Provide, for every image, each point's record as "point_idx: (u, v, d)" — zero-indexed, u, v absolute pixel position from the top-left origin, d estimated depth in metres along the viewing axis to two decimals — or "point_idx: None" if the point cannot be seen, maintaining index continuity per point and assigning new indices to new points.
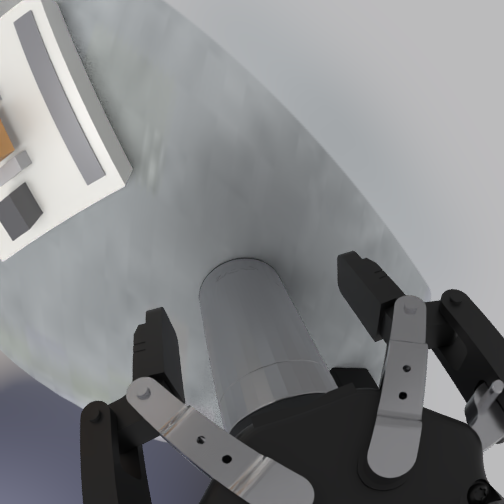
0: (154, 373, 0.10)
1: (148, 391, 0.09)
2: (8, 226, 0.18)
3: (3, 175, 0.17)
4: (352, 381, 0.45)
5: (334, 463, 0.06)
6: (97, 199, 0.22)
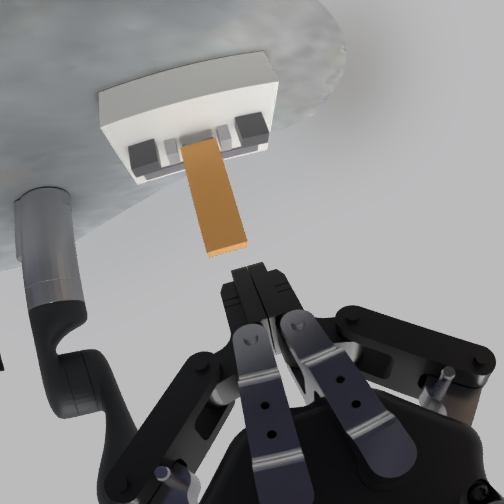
0: (257, 320, 0.11)
1: (255, 339, 0.10)
2: (142, 168, 0.31)
3: (172, 157, 0.33)
4: None
5: (334, 463, 0.06)
6: (133, 176, 0.38)
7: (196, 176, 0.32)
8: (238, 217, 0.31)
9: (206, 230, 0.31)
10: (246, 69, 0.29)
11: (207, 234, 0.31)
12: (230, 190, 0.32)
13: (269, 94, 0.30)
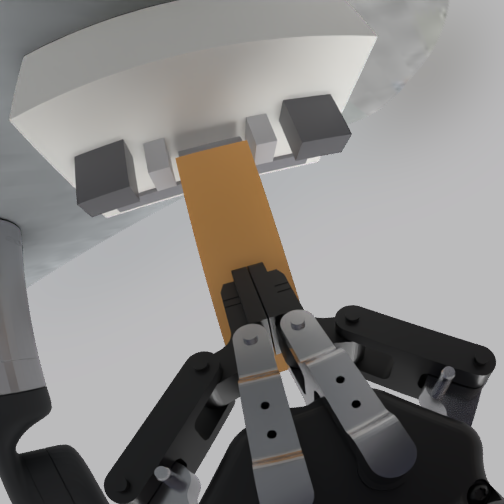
0: (257, 320, 0.11)
1: (255, 339, 0.10)
2: (99, 200, 0.15)
3: (160, 175, 0.17)
4: None
5: (334, 463, 0.06)
6: None
7: (209, 221, 0.16)
8: None
9: None
10: (311, 9, 0.12)
11: None
12: (281, 253, 0.16)
13: (355, 60, 0.14)
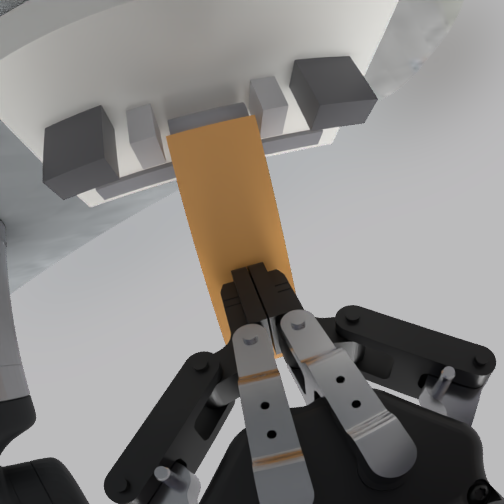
0: (257, 320, 0.11)
1: (254, 339, 0.10)
2: (68, 177, 0.11)
3: (145, 148, 0.13)
4: None
5: (334, 463, 0.06)
6: None
7: (208, 217, 0.14)
8: None
9: None
10: None
11: None
12: (284, 253, 0.15)
13: (378, 14, 0.10)
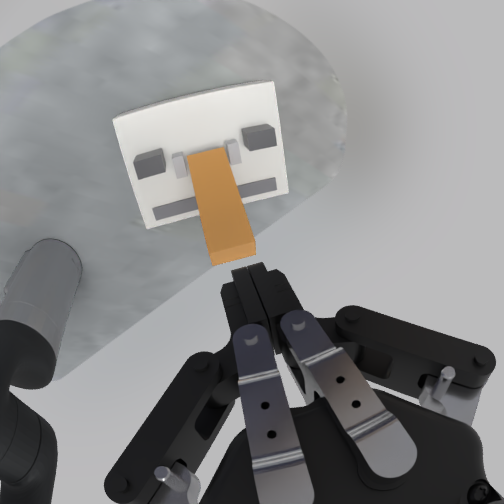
0: (257, 320, 0.11)
1: (254, 339, 0.10)
2: (144, 163, 0.30)
3: (178, 163, 0.32)
4: None
5: (334, 463, 0.06)
6: (141, 211, 0.36)
7: (201, 180, 0.30)
8: (245, 217, 0.28)
9: (209, 231, 0.28)
10: (245, 84, 0.33)
11: (210, 235, 0.27)
12: (237, 192, 0.29)
13: (269, 98, 0.33)
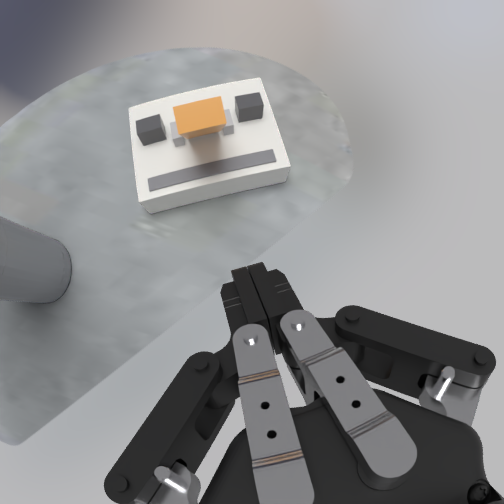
0: (257, 320, 0.11)
1: (255, 339, 0.10)
2: (144, 121, 0.34)
3: (175, 126, 0.35)
4: None
5: (334, 463, 0.06)
6: (137, 182, 0.35)
7: None
8: None
9: None
10: None
11: None
12: None
13: (258, 88, 0.38)
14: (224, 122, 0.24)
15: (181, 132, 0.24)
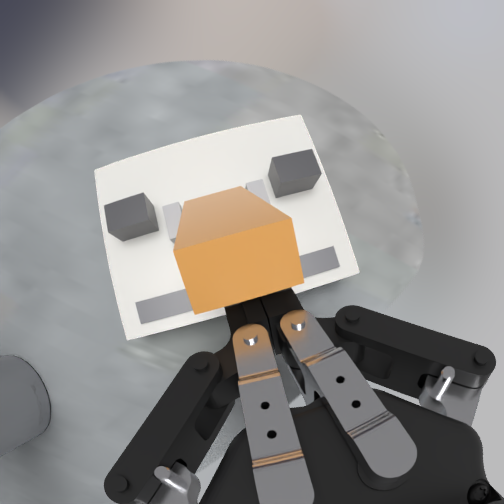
0: (257, 320, 0.11)
1: (255, 339, 0.10)
2: (119, 206, 0.20)
3: (172, 213, 0.21)
4: None
5: (334, 463, 0.06)
6: (120, 307, 0.22)
7: (197, 206, 0.18)
8: (269, 207, 0.13)
9: (189, 231, 0.12)
10: None
11: (189, 234, 0.12)
12: (256, 198, 0.16)
13: (300, 133, 0.25)
14: (299, 281, 0.11)
15: (201, 310, 0.11)
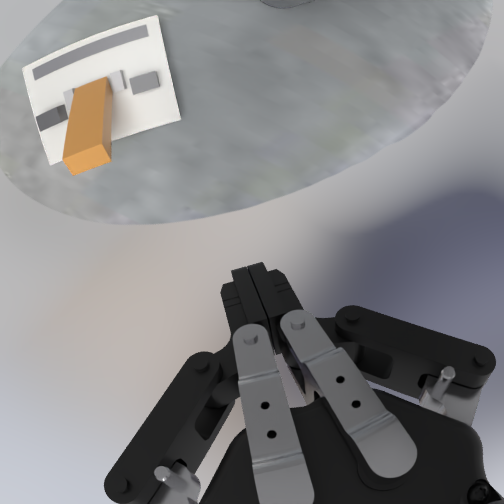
0: (257, 320, 0.11)
1: (255, 339, 0.10)
2: (148, 86, 0.30)
3: (118, 84, 0.30)
4: None
5: (334, 463, 0.06)
6: (160, 32, 0.29)
7: None
8: None
9: None
10: None
11: None
12: None
13: (50, 150, 0.33)
14: (64, 159, 0.23)
15: (99, 145, 0.24)
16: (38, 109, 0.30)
